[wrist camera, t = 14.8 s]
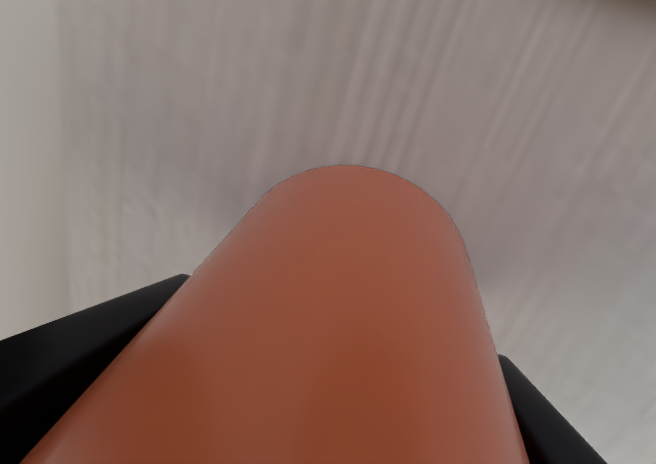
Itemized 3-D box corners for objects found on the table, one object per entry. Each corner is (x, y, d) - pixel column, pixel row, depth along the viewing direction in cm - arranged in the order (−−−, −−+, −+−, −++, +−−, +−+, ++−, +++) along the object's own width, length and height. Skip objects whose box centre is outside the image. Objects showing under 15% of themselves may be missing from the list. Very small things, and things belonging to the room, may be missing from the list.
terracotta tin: (428, 389, 11) (475, 1047, 4) (229, 336, 11) (-72, 842, 4) (507, 198, 8) (1077, 1063, 1) (248, 138, 9) (-411, 550, 2)
